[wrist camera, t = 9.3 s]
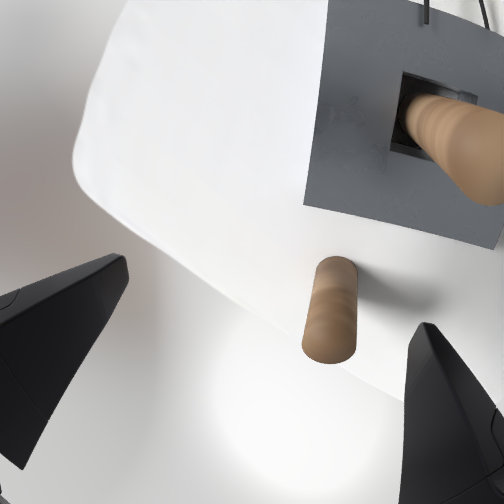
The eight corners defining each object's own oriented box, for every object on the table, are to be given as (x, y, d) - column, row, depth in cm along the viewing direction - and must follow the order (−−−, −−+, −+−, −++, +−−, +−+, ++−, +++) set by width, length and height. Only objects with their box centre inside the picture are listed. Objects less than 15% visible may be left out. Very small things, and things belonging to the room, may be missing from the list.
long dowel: (449, 100, 14) (538, 131, 6) (439, 146, 16) (513, 215, 8) (402, 85, 15) (463, 97, 7) (394, 134, 17) (440, 192, 8)
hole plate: (517, 57, 11) (541, 57, 9) (478, 227, 18) (493, 250, 15) (331, -2, 13) (329, -16, 11) (308, 186, 20) (303, 204, 17)
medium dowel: (361, 261, 21) (363, 332, 16) (351, 294, 23) (347, 367, 17) (320, 252, 22) (307, 321, 16) (312, 286, 24) (297, 358, 18)
